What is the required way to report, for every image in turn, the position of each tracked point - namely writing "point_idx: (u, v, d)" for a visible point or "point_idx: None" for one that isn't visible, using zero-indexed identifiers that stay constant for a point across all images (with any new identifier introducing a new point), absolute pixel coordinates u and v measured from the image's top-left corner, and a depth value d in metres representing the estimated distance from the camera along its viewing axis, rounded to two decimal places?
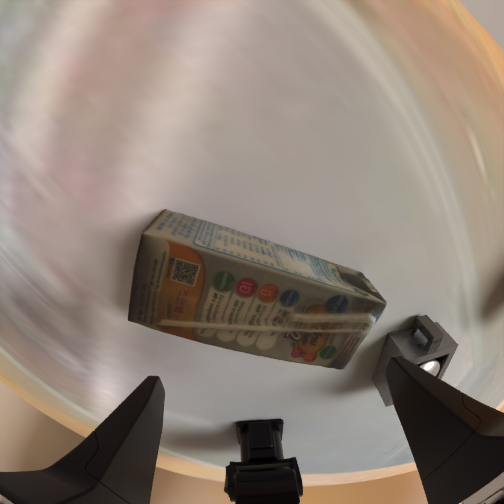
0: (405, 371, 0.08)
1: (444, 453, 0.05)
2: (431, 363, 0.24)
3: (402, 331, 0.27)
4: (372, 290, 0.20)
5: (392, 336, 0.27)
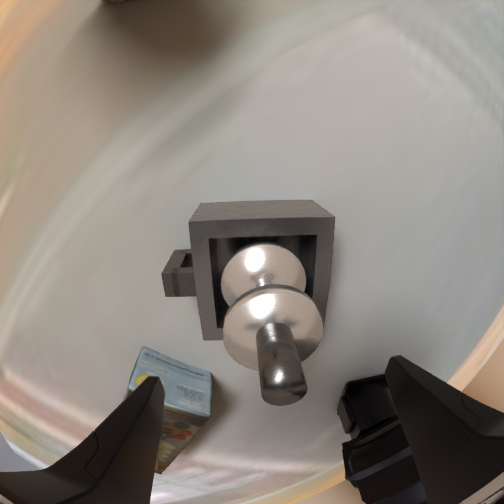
0: (405, 371, 0.08)
1: (444, 454, 0.05)
2: (225, 281, 0.16)
3: None
4: None
5: None
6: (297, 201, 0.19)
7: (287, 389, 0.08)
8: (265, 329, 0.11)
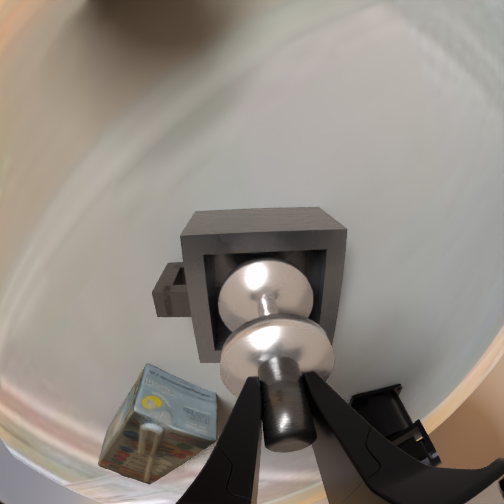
0: (310, 391, 0.08)
1: (346, 491, 0.05)
2: (223, 301, 0.14)
3: None
4: (133, 399, 0.18)
5: None
6: (303, 209, 0.17)
7: (294, 439, 0.07)
8: (269, 365, 0.09)
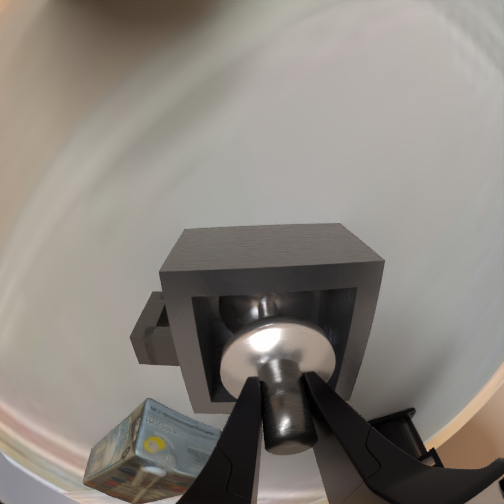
0: (310, 391, 0.08)
1: (346, 491, 0.05)
2: (223, 303, 0.14)
3: None
4: (133, 439, 0.15)
5: None
6: (321, 226, 0.13)
7: (295, 441, 0.06)
8: (269, 367, 0.09)
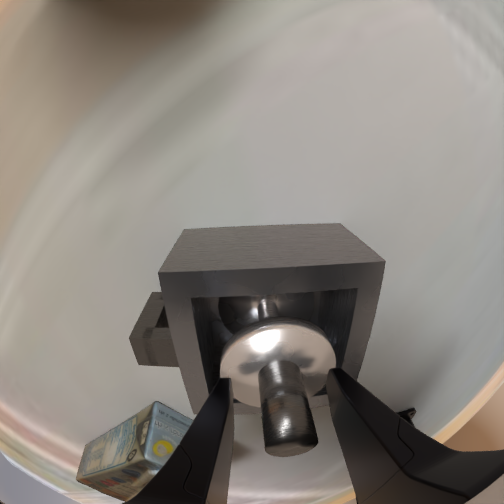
0: (339, 386, 0.08)
1: (377, 482, 0.05)
2: (223, 303, 0.14)
3: None
4: (141, 442, 0.15)
5: None
6: (321, 226, 0.13)
7: (295, 443, 0.06)
8: (269, 369, 0.09)
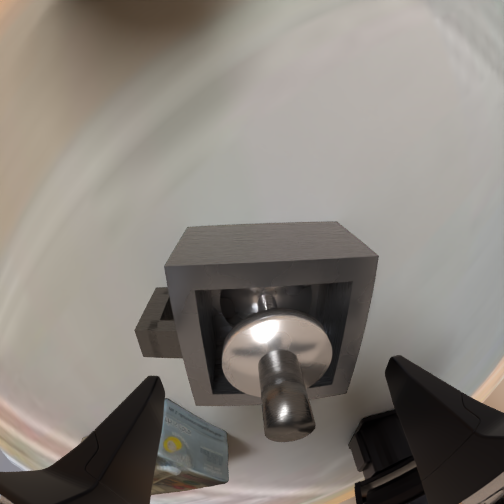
0: (405, 371, 0.08)
1: (444, 453, 0.05)
2: (225, 298, 0.14)
3: None
4: None
5: None
6: (318, 224, 0.14)
7: (293, 427, 0.07)
8: (268, 358, 0.10)
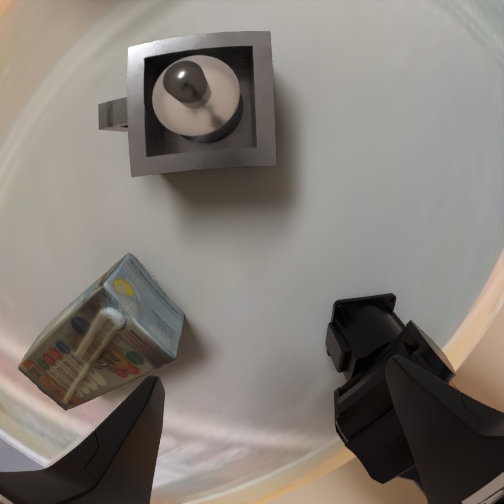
0: (405, 371, 0.08)
1: (444, 453, 0.05)
2: None
3: None
4: (104, 279, 0.17)
5: None
6: None
7: (185, 74, 0.08)
8: None
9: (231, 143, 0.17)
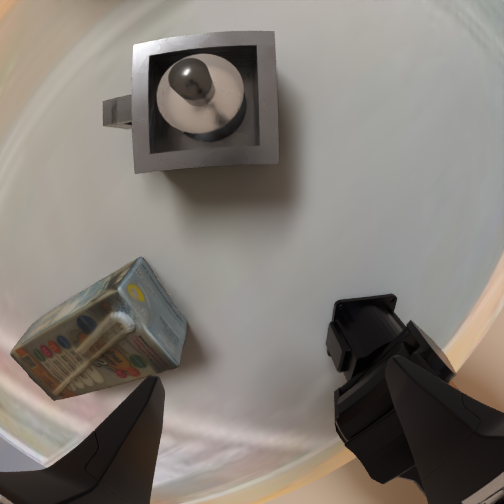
0: (405, 371, 0.08)
1: (444, 453, 0.05)
2: None
3: None
4: (116, 282, 0.17)
5: None
6: None
7: (190, 71, 0.09)
8: None
9: (234, 142, 0.18)
